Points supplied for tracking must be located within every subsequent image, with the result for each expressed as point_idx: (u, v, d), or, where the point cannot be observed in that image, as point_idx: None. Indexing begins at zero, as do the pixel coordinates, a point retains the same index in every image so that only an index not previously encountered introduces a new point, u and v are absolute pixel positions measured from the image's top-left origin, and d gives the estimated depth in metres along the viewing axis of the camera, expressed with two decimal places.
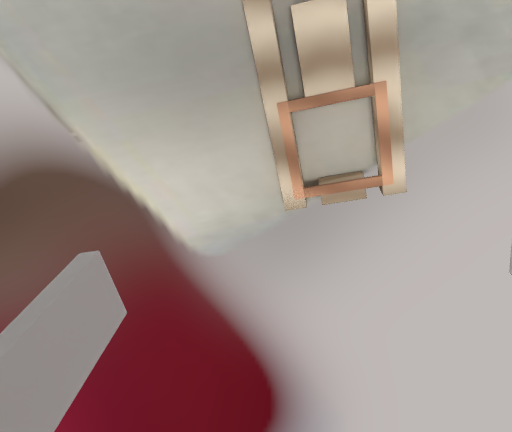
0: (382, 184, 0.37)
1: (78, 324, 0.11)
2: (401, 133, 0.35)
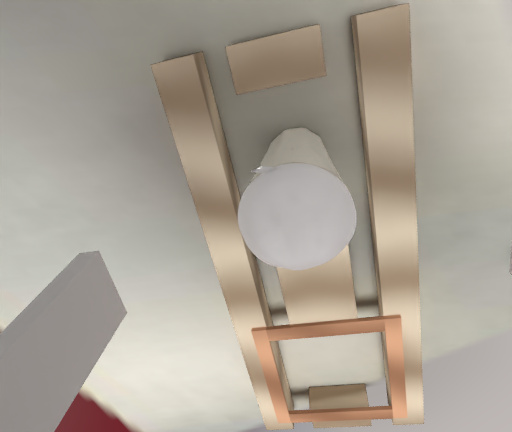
0: (392, 417, 0.28)
1: (78, 324, 0.11)
2: (419, 368, 0.26)
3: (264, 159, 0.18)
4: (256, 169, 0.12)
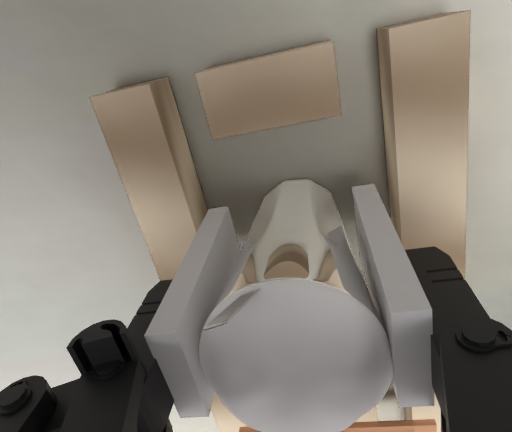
0: None
1: (225, 268, 0.12)
2: None
3: (249, 238, 0.12)
4: (214, 326, 0.06)
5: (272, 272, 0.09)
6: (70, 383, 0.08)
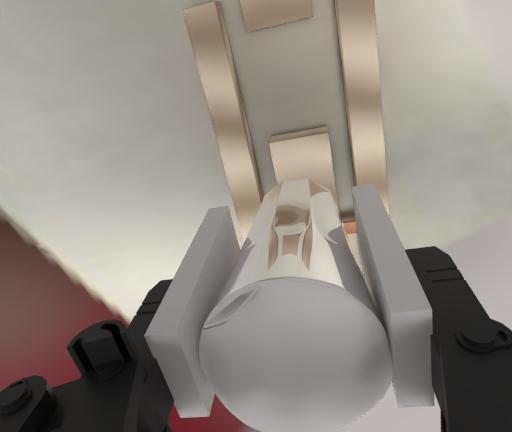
0: None
1: (225, 268, 0.12)
2: None
3: (249, 237, 0.12)
4: (214, 325, 0.06)
5: (272, 271, 0.09)
6: (70, 383, 0.08)
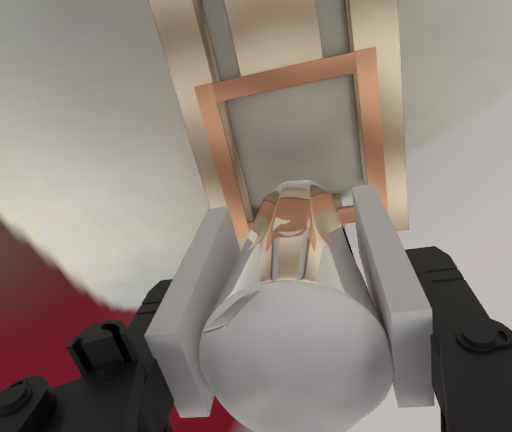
0: None
1: (225, 268, 0.12)
2: (401, 137, 0.21)
3: (249, 239, 0.12)
4: (214, 328, 0.06)
5: (272, 274, 0.09)
6: (70, 383, 0.08)
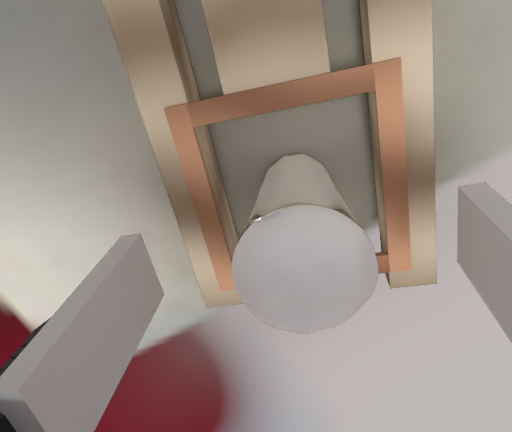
0: (389, 270, 0.18)
1: (126, 302, 0.12)
2: (430, 172, 0.16)
3: (261, 194, 0.15)
4: (257, 220, 0.09)
5: (287, 203, 0.12)
6: None
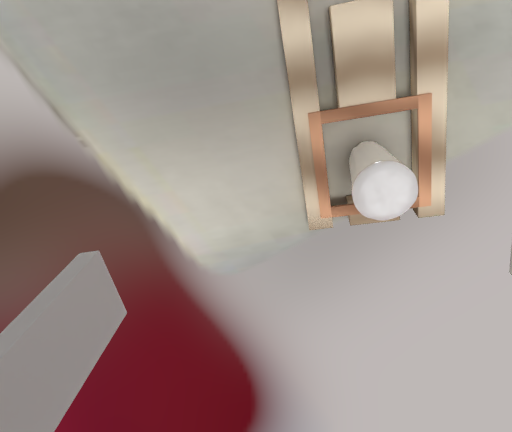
0: (418, 205, 0.33)
1: (78, 324, 0.11)
2: (443, 151, 0.31)
3: (358, 158, 0.30)
4: (378, 161, 0.24)
5: (381, 160, 0.27)
6: None
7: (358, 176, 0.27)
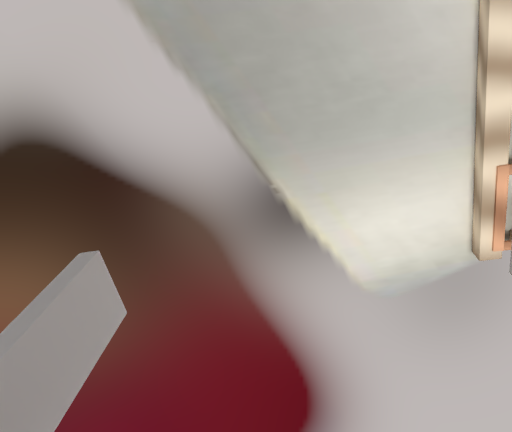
0: None
1: (78, 324, 0.11)
2: None
3: None
4: None
5: None
6: None
7: None
